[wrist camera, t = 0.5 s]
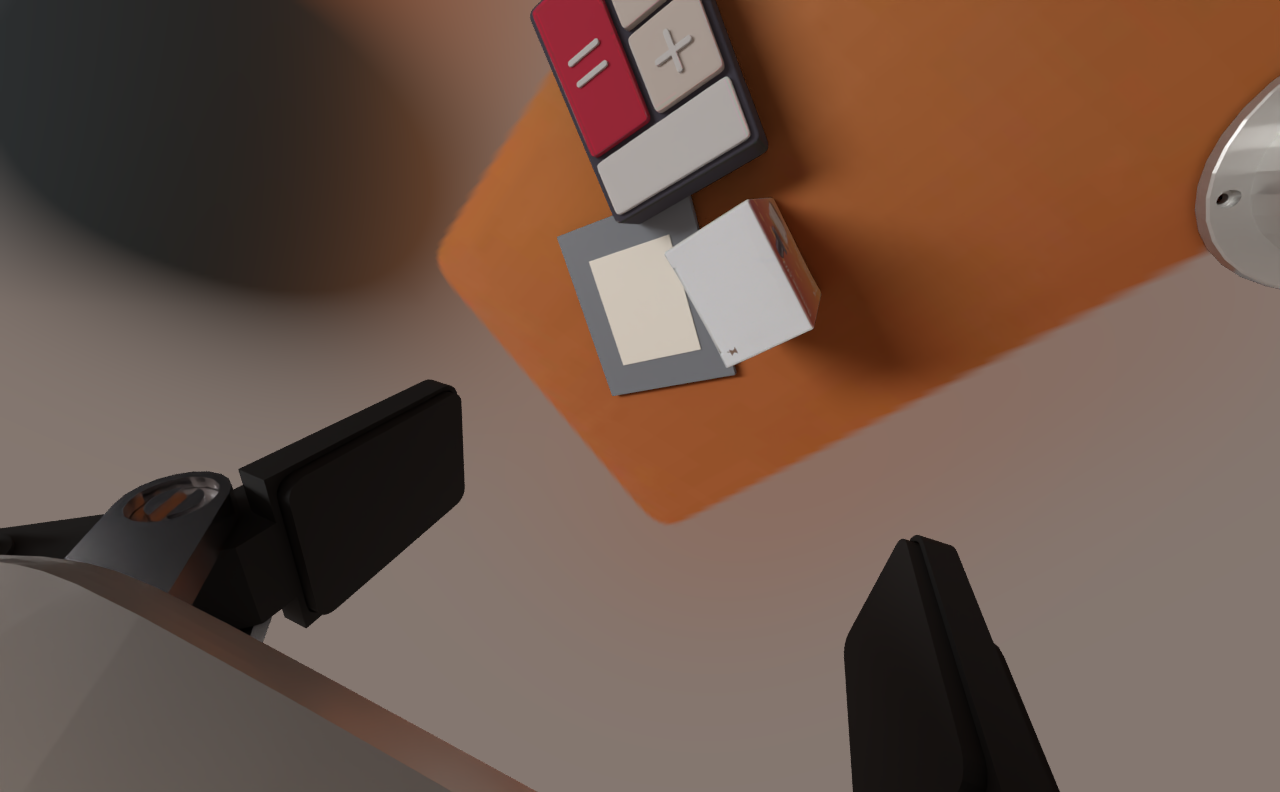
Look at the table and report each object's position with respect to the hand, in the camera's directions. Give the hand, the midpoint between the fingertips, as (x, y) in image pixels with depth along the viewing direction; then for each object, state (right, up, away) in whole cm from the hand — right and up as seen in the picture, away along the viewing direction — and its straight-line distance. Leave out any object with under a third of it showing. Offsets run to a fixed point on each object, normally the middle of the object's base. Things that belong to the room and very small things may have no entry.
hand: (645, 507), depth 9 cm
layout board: (+1, +10, +29) cm, 31 cm away
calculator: (+1, +24, +23) cm, 33 cm away
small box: (+9, +12, +25) cm, 29 cm away
